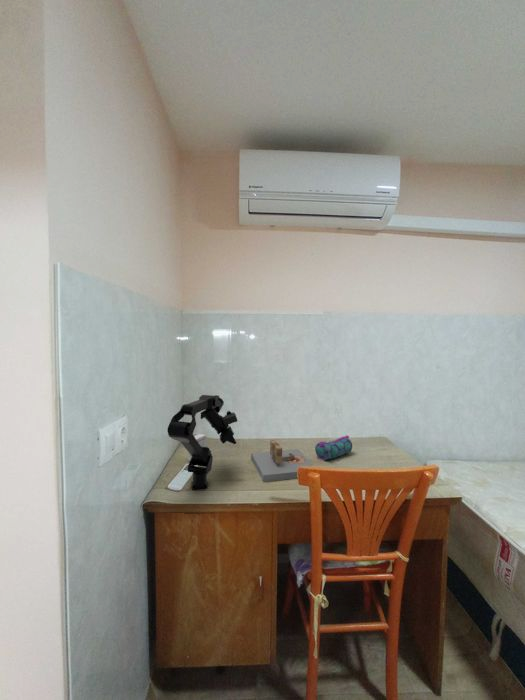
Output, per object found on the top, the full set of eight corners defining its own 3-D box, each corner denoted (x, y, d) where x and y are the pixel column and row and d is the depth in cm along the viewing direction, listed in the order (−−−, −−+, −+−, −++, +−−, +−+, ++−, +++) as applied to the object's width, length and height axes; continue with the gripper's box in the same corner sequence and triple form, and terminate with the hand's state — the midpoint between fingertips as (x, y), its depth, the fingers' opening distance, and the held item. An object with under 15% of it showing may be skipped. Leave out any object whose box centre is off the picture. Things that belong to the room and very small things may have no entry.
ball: (291, 462, 135) (292, 467, 135) (296, 460, 135) (297, 466, 136) (288, 459, 137) (290, 465, 138) (294, 457, 138) (295, 463, 139)
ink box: (199, 455, 146) (200, 433, 146) (206, 457, 143) (207, 434, 143) (187, 461, 139) (188, 437, 138) (194, 463, 136) (195, 439, 136)
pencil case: (327, 463, 140) (327, 445, 140) (314, 457, 147) (315, 439, 147) (353, 454, 152) (353, 437, 152) (340, 449, 159) (340, 432, 159)
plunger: (297, 463, 131) (297, 447, 131) (276, 465, 128) (277, 448, 128) (289, 454, 142) (289, 438, 141) (269, 455, 139) (270, 440, 139)
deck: (317, 475, 127) (317, 469, 127) (263, 482, 120) (263, 475, 120) (297, 454, 150) (297, 449, 150) (251, 458, 143) (251, 452, 143)
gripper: (231, 412, 118) (253, 438, 121) (225, 402, 136) (244, 425, 139) (211, 430, 116) (233, 456, 119) (207, 417, 134) (227, 440, 137)
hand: (235, 443), depth 129 cm, fingers closed
